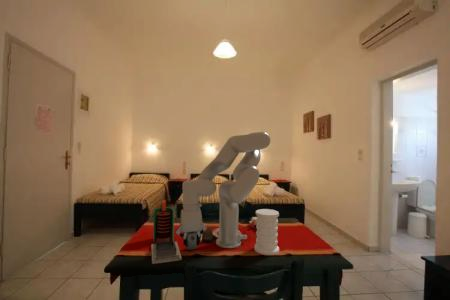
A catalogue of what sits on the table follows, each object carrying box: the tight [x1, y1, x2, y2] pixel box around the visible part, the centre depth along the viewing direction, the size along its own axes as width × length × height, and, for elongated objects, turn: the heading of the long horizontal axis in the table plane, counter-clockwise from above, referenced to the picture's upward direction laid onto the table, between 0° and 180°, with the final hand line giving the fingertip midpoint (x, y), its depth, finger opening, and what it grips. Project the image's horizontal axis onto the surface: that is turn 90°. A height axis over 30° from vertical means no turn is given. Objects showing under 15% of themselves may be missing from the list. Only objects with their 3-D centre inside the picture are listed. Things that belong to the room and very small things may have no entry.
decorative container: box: [253, 208, 280, 256], centre depth 111 cm, size 12×12×18 cm
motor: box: [152, 199, 175, 243], centre depth 121 cm, size 10×9×20 cm
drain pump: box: [185, 231, 198, 251], centre depth 109 cm, size 5×6×8 cm
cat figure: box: [248, 216, 258, 229], centre depth 139 cm, size 10×9×25 cm
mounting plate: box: [150, 240, 183, 265], centre depth 106 cm, size 12×18×4 cm, turn 18°
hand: (191, 245), depth 110 cm, fingers closed on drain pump, 5 cm apart
